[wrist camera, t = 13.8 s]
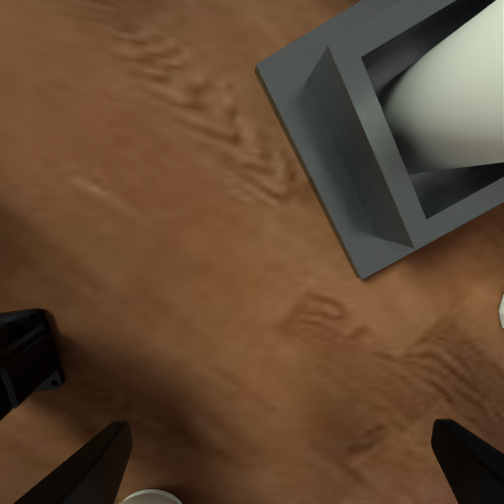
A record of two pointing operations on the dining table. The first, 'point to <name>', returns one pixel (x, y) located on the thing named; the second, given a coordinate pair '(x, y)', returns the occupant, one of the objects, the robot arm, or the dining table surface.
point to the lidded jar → (151, 497)
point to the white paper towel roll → (452, 99)
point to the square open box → (372, 129)
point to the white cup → (502, 312)
